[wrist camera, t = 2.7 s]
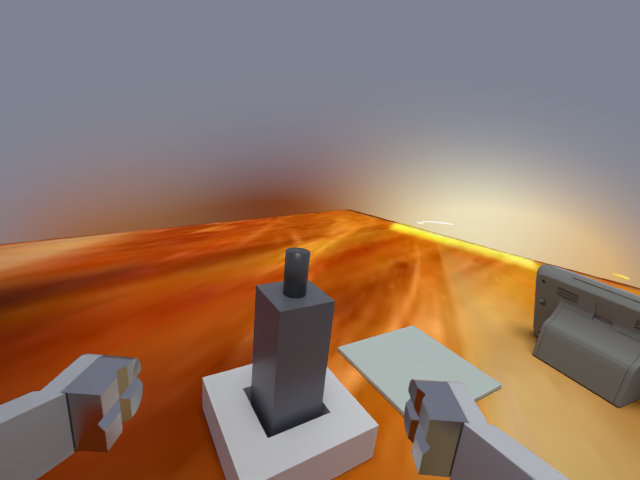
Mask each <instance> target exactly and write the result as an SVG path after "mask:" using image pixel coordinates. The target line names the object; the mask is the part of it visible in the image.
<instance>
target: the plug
mask: <svg viewBox="0 0 640 480" xmlns="http://www.w3.org/2000/svg"><path fill="white" fill-rule="evenodd" d="M309 259H310V251H308V250H306V249H303V248H289V249H287V250H286V255H285V269H284V281H282V282H275V283H269V284H262V285H256V299H255V320H254V341H253V363H252V384H251V406H252V408H253V410H254V412H255V414H256V416H257V418H258V420H259V422H260V424H261V426H262V428H263V430H264V432H265V434H266V436H267V438H270V437H272V436H275V435H277V434H279V433H282V432H284V431H287V430H289V429H292V428H294V427H296V426H299V425H301V424H304V423H306V422H309V421H311V420H313V419H316V418H318V417H321V410H322V402H323V394H324V386H325V377H326V369H327V361H328V353H329V345H330V337H331V329H332V320H333V312H334V304H335V301H334V300H333V299H332V298H330V297H329V296H328V295H327V294H325V293H324V292H323V291H322V290H320V289H319V288H318V287H317V286H315V285H314V284H313V283H312V282H310V281H309V280H308V269H309Z"/></svg>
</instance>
